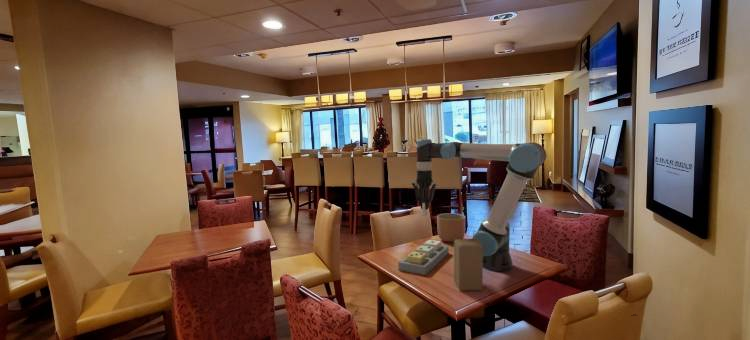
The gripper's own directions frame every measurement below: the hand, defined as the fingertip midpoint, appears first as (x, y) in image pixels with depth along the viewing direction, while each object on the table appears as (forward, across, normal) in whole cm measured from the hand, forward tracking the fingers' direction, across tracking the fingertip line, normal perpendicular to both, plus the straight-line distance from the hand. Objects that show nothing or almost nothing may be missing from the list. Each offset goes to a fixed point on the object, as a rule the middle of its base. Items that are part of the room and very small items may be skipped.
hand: (424, 215), depth 185 cm
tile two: (+21, 0, 0) cm, 21 cm away
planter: (+25, -1, -40) cm, 47 cm away
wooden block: (+25, -28, +20) cm, 42 cm away
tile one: (+21, 0, -11) cm, 24 cm away
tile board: (+24, 0, 0) cm, 24 cm away
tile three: (+21, 0, +11) cm, 24 cm away
